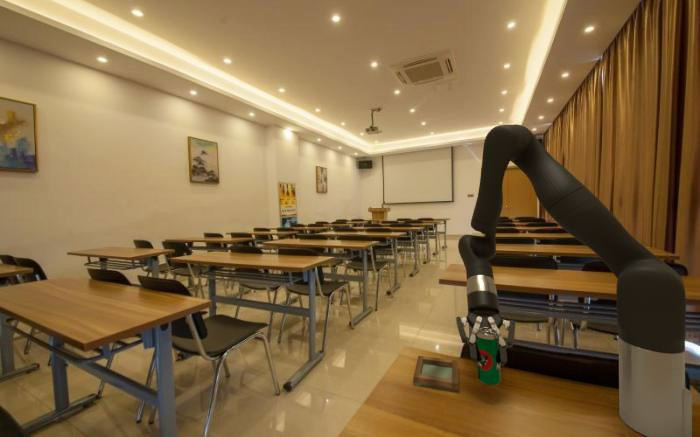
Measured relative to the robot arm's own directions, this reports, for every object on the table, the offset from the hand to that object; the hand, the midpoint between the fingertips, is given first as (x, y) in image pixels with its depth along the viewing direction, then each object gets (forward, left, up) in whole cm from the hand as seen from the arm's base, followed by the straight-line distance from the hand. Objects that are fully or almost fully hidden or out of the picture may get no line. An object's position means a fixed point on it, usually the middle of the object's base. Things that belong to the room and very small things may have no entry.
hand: (489, 362), depth 67 cm
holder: (+12, -8, -10) cm, 17 cm away
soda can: (0, -2, -5) cm, 6 cm away
